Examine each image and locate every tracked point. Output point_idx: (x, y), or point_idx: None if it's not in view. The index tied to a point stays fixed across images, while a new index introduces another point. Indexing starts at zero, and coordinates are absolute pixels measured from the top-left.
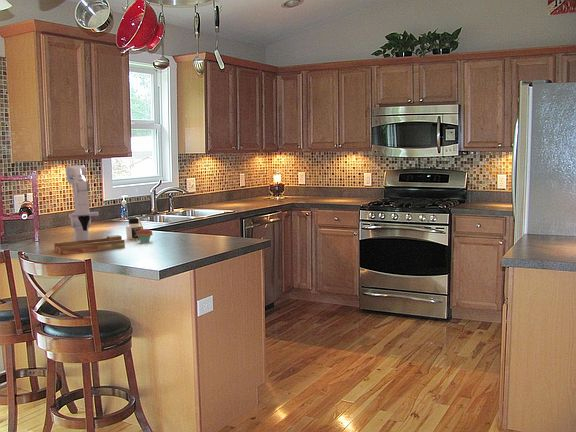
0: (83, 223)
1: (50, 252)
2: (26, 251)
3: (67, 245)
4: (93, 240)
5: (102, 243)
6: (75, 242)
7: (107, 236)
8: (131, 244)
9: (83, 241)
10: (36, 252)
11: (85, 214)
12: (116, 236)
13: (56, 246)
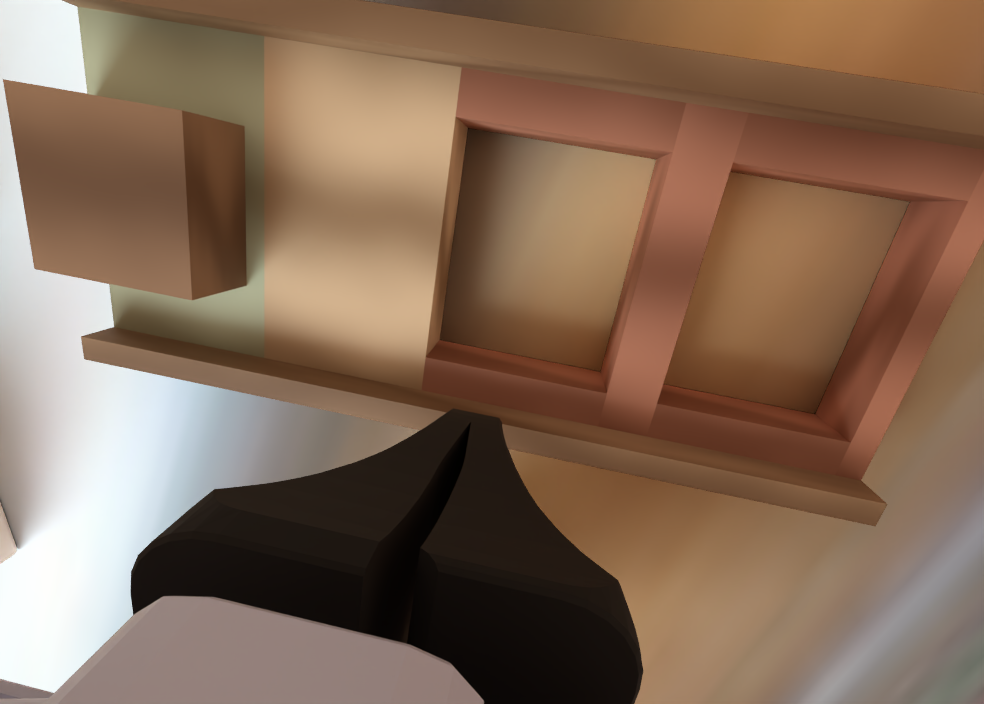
0: (500, 490)
1: (904, 426)
2: (980, 675)
3: (718, 424)
4: (377, 391)
5: (382, 10)
6: (604, 439)
7: (191, 258)
8: None
9: (502, 418)
10: (980, 549)
11: (332, 650)
12: (76, 118)
13: (849, 465)
